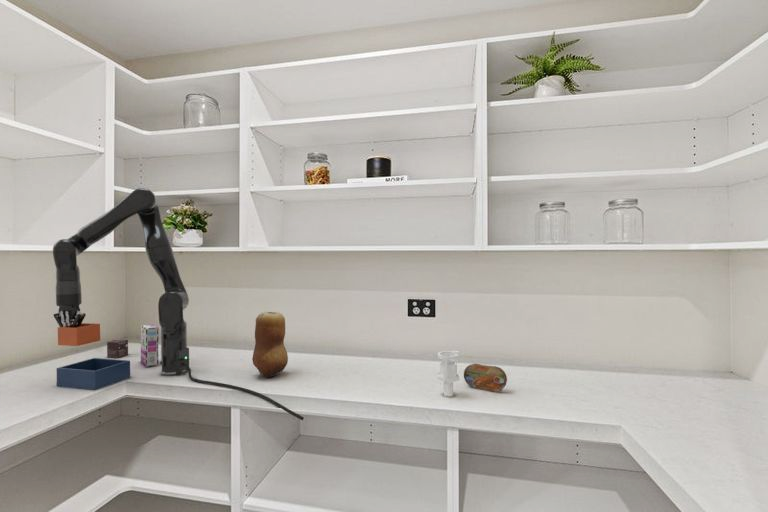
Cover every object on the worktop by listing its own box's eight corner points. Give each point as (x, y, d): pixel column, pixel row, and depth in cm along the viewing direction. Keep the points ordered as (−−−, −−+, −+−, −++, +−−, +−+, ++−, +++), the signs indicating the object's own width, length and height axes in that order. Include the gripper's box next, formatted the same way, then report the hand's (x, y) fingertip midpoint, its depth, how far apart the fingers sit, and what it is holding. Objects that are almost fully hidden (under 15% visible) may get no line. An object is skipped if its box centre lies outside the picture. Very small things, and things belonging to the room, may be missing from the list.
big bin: (130, 377, 156) (130, 360, 156) (95, 390, 142) (94, 371, 142) (94, 374, 161) (94, 357, 160) (56, 386, 146) (56, 368, 146)
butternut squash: (294, 375, 158) (294, 311, 158) (263, 383, 148) (262, 315, 148) (275, 368, 167) (275, 308, 167) (245, 375, 158) (244, 312, 158)
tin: (463, 386, 144) (463, 362, 144) (466, 383, 147) (466, 360, 147) (505, 394, 136) (505, 369, 136) (508, 391, 139) (508, 367, 139)
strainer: (456, 399, 131) (456, 353, 131) (435, 396, 134) (435, 351, 134) (461, 392, 138) (460, 349, 137) (441, 390, 140) (440, 347, 140)
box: (117, 358, 185) (117, 342, 185) (106, 357, 186) (106, 341, 186) (128, 355, 191) (128, 339, 191) (117, 354, 192) (117, 339, 192)
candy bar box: (159, 365, 173) (158, 327, 173) (146, 367, 170) (145, 328, 169) (153, 360, 181) (152, 323, 181) (140, 362, 178) (140, 325, 178)
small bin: (100, 340, 153) (99, 323, 153) (77, 346, 145) (76, 328, 145) (81, 339, 156) (81, 323, 156) (58, 345, 147) (57, 327, 147)
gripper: (92, 291, 153) (93, 337, 153) (65, 291, 156) (66, 336, 156) (72, 293, 145) (74, 341, 146) (44, 293, 149) (46, 340, 149)
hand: (70, 338), depth 151 cm, fingers closed on small bin, 1 cm apart
